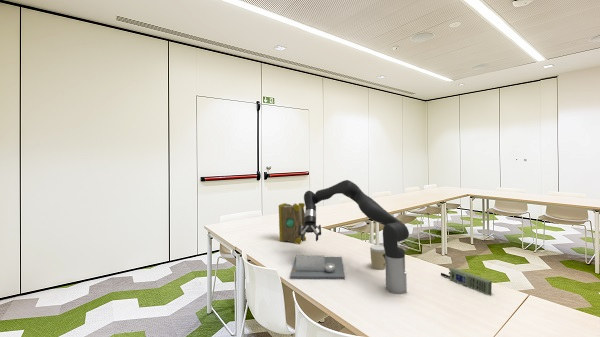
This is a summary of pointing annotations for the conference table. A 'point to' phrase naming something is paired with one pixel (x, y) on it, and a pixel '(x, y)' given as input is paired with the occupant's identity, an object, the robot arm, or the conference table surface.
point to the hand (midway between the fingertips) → (309, 240)
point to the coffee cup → (377, 257)
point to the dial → (313, 263)
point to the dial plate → (320, 271)
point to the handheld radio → (470, 280)
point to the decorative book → (291, 222)
